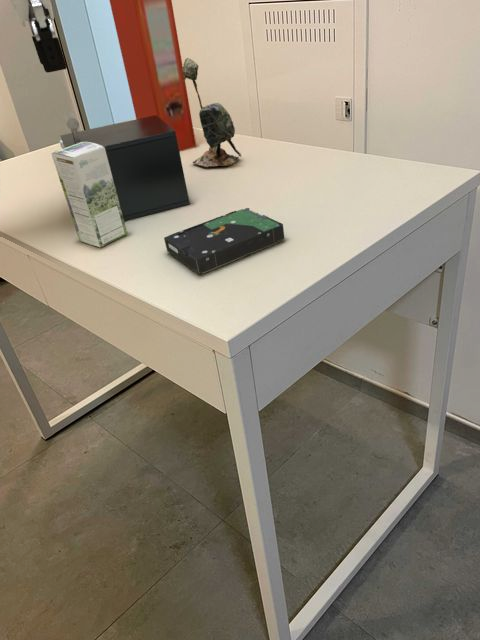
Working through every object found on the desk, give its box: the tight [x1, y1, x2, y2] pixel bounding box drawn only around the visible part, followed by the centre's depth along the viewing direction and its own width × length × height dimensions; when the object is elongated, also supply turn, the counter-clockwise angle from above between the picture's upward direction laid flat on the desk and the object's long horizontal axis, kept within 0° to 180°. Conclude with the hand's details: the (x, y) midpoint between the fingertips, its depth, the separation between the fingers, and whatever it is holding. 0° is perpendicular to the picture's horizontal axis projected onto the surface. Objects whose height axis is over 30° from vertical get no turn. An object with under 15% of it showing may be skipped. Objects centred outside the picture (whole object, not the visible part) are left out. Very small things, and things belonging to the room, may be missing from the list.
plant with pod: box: [182, 57, 242, 168], centre depth 108 cm, size 8×11×20 cm
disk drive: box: [163, 207, 285, 275], centre depth 81 cm, size 10×3×15 cm
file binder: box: [108, 0, 197, 152], centre depth 121 cm, size 8×17×32 cm, turn 28°
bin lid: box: [60, 110, 176, 151], centre depth 92 cm, size 17×14×5 cm
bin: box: [106, 136, 191, 222], centre depth 97 cm, size 17×14×12 cm
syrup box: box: [51, 142, 128, 248], centre depth 85 cm, size 6×6×14 cm
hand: (53, 66), depth 84 cm, fingers open, 9 cm apart
